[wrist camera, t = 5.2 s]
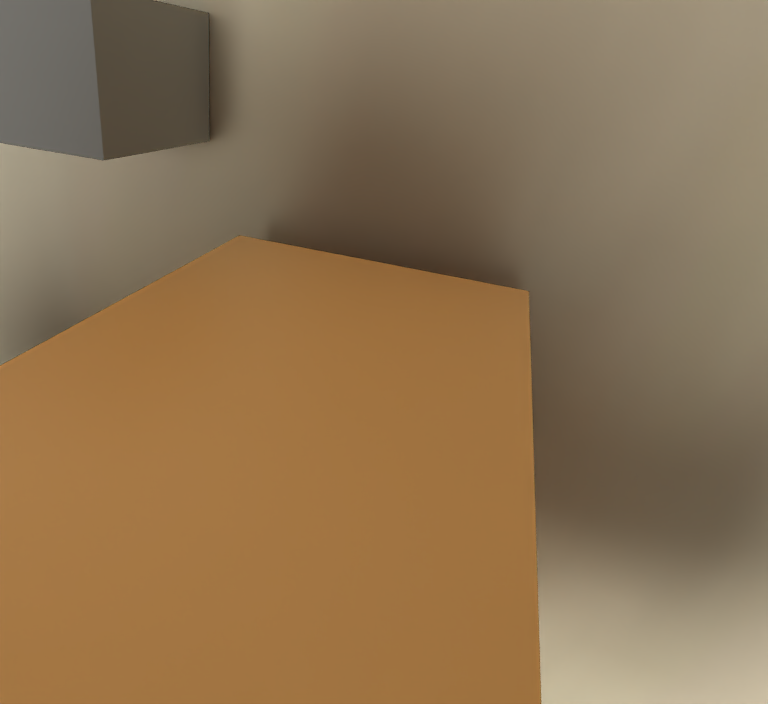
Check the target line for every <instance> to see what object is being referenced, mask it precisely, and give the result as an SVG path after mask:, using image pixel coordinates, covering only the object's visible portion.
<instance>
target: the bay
mask: <svg viewBox="0 0 768 704" xmlns="http://www.w3.org/2000/svg"><path fill="white" fill-rule="evenodd" d="M207 141H210V130H209V13H206V12H202V11H198V10H193V9H189V8H185V7H180V6H176V5H172V4H167V3H163V2H159V1H154V0H0V143H4V144H10V145H16V146H22V147H27V148H33V149H39V150H45V151H51V152H57V153H63V154H69V155H75V156H81V157H87V158H93V159H98V160H109V159H114V158H120V157H125V156H131V155H136V154H142V153H147V152H152V151H158V150H163V149H169V148H174V147H180V146H185V145H191V144H196V143H202V142H207Z"/></svg>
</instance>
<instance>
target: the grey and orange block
mask: <svg viewBox="0 0 768 704" xmlns="http://www.w3.org/2000/svg"><path fill="white" fill-rule="evenodd" d="M0 704H541V681H540V647H539V614H538V580H537V546H536V513H535V479H534V446H533V412H532V379H531V345H530V312H529V291H526V290H520V289H515V288H510V287H505V286H500V285H495V284H489V283H484V282H479V281H474V280H469V279H463V278H458V277H453V276H448V275H443V274H438V273H432V272H427V271H422V270H417V269H412V268H406V267H401V266H396V265H391V264H386V263H380V262H375V261H370V260H365V259H360V258H355V257H349V256H344V255H339V254H334V253H329V252H323V251H318V250H313V249H308V248H303V247H298V246H292V245H287V244H282V243H277V242H272V241H266V240H261V239H256V238H251V237H246V236H240V235H239V236H237V237H236V238H234V239H232V240H230V241H228V242H226V243H224V244H223V245H221V246H219V247H217V248H215V249H213V250H212V251H210V252H208V253H206V254H204V255H202V256H201V257H199V258H197V259H195V260H193V261H191V262H190V263H188V264H186V265H184V266H182V267H180V268H179V269H177V270H175V271H173V272H171V273H169V274H168V275H166V276H164V277H162V278H160V279H158V280H157V281H155V282H153V283H151V284H149V285H147V286H145V287H144V288H142V289H140V290H138V291H136V292H134V293H133V294H131V295H129V296H127V297H125V298H123V299H122V300H120V301H118V302H116V303H114V304H112V305H111V306H109V307H107V308H105V309H103V310H101V311H100V312H98V313H96V314H94V315H92V316H90V317H89V318H87V319H85V320H83V321H81V322H79V323H78V324H76V325H74V326H72V327H70V328H68V329H66V330H65V331H63V332H61V333H59V334H57V335H55V336H54V337H52V338H50V339H48V340H46V341H44V342H43V343H41V344H39V345H37V346H35V347H33V348H32V349H30V350H28V351H26V352H24V353H22V354H21V355H19V356H17V357H15V358H13V359H11V360H10V361H8V362H6V363H4V364H2V365H0Z"/></svg>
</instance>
